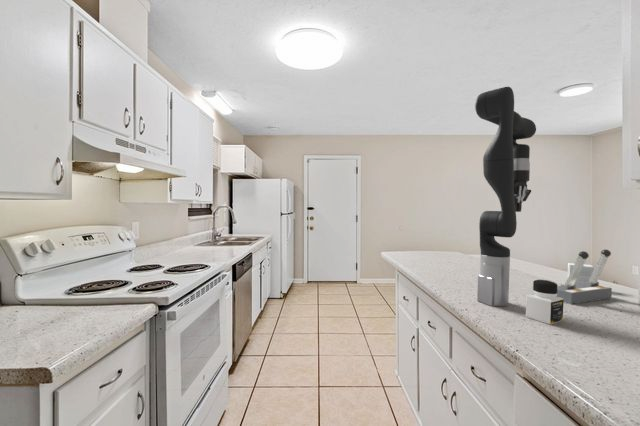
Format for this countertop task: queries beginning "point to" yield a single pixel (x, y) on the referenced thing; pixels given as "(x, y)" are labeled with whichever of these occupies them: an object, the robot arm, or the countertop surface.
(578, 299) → the switch console
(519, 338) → the countertop surface
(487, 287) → the robot arm
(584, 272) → the small box
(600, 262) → the lever
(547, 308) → the medicine bottle
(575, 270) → the lever
